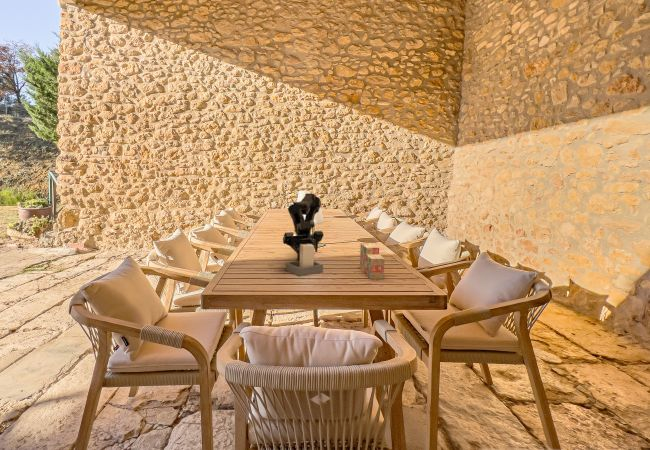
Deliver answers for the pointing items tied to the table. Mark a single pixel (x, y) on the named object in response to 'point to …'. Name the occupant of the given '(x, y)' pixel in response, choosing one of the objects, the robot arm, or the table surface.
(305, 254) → the cream block
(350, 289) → the table surface
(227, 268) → the table surface
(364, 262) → the stack of blocks
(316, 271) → the grey square tray
